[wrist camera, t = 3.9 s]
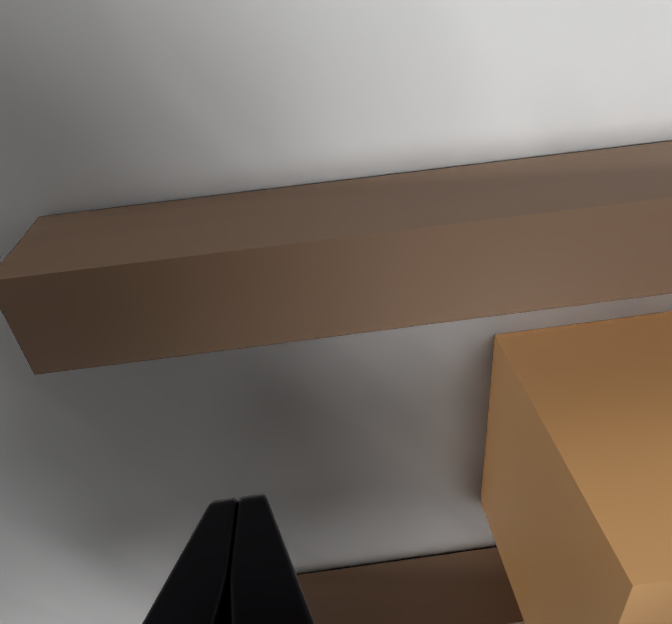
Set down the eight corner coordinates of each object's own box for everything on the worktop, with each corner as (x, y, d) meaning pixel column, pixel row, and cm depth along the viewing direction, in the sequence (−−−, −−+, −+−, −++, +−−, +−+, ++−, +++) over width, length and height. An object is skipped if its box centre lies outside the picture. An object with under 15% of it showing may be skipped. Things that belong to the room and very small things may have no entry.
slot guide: (841, 530, 12) (904, 595, 11) (208, 619, 12) (201, 698, 11) (1154, 83, 7) (1341, 115, 6) (39, 216, 7) (-14, 281, 5)
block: (683, 470, 11) (862, 705, 8) (479, 498, 11) (570, 748, 7) (749, 297, 9) (1048, 526, 5) (493, 331, 8) (633, 586, 5)
